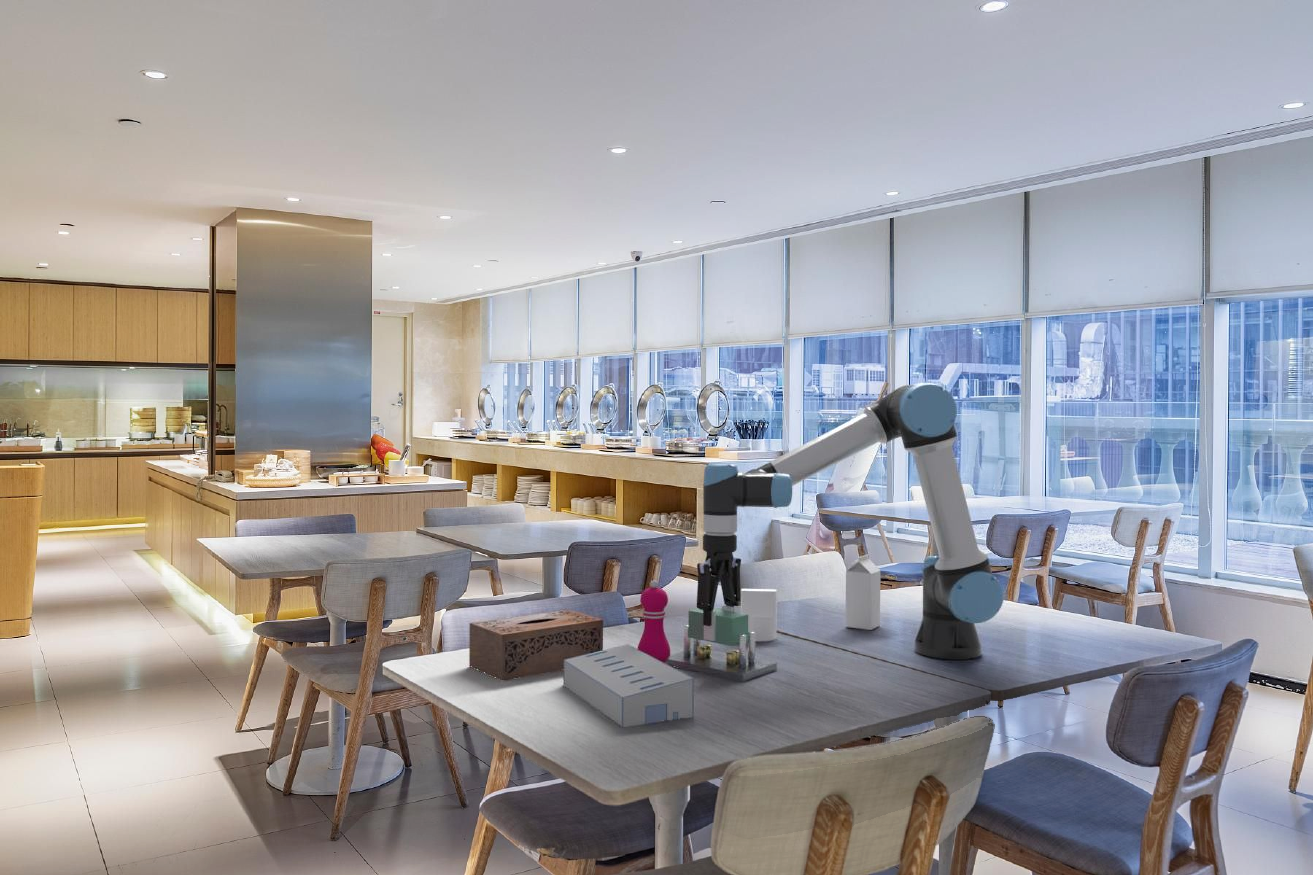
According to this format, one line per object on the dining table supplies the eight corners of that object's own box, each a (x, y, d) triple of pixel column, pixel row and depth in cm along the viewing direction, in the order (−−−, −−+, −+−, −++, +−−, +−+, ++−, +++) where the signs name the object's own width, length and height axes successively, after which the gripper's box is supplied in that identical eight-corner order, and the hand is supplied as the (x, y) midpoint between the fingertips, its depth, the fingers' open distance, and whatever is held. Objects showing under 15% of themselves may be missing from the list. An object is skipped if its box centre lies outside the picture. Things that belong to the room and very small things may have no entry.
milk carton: (880, 626, 259) (880, 555, 259) (870, 630, 253) (871, 558, 253) (854, 622, 263) (855, 553, 263) (845, 627, 257) (845, 556, 257)
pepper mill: (646, 678, 204) (646, 583, 204) (631, 670, 211) (631, 578, 211) (676, 674, 208) (676, 581, 208) (660, 666, 214) (661, 576, 214)
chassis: (776, 669, 212) (777, 631, 212) (743, 681, 202) (743, 641, 202) (696, 653, 226) (697, 617, 226) (661, 664, 216) (662, 626, 216)
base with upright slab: (776, 633, 249) (776, 587, 248) (776, 641, 240) (777, 593, 239) (740, 632, 249) (741, 586, 249) (740, 640, 241) (740, 592, 240)
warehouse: (563, 687, 199) (563, 650, 199) (627, 679, 205) (627, 644, 205) (622, 729, 172) (622, 686, 172) (693, 719, 178) (693, 678, 178)
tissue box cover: (567, 651, 229) (567, 609, 229) (602, 663, 218) (603, 619, 217) (469, 668, 213) (469, 622, 213) (501, 682, 202) (502, 634, 201)
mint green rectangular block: (747, 641, 213) (748, 614, 213) (731, 646, 208) (732, 618, 208) (704, 632, 220) (704, 606, 220) (688, 637, 216) (688, 610, 216)
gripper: (730, 528, 224) (729, 628, 224) (680, 535, 209) (678, 642, 209) (757, 531, 219) (756, 633, 219) (708, 538, 204) (706, 647, 204)
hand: (718, 637), depth 214 cm, fingers closed on mint green rectangular block, 6 cm apart
